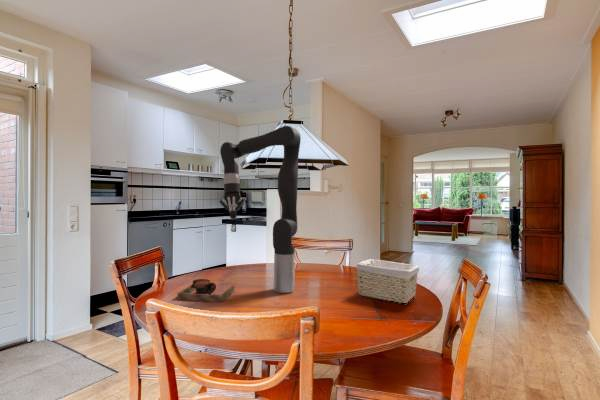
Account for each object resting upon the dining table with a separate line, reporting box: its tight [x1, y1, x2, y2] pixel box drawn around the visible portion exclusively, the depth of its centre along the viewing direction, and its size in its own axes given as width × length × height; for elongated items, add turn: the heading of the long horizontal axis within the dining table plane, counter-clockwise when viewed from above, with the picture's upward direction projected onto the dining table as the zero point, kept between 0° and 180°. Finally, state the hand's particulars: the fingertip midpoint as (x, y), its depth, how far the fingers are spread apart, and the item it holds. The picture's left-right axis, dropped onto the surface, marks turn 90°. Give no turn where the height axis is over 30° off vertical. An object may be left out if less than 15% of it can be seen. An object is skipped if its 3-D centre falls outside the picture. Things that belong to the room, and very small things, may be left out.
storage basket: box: [356, 258, 420, 304], centre depth 152 cm, size 24×16×15 cm
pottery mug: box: [190, 278, 217, 295], centre depth 147 cm, size 12×9×8 cm
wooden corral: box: [177, 285, 235, 303], centre depth 147 cm, size 19×16×2 cm
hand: (233, 218), depth 165 cm, fingers closed
